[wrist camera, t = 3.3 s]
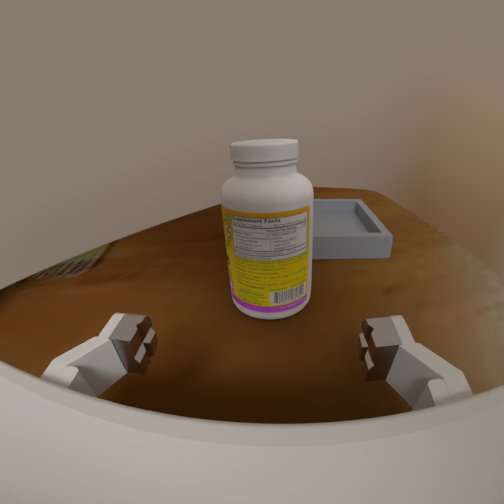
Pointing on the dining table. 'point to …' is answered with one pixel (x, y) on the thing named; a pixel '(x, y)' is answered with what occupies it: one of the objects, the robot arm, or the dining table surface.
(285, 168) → the supplement bottle
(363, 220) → the tray
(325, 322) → the dining table surface
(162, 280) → the dining table surface
